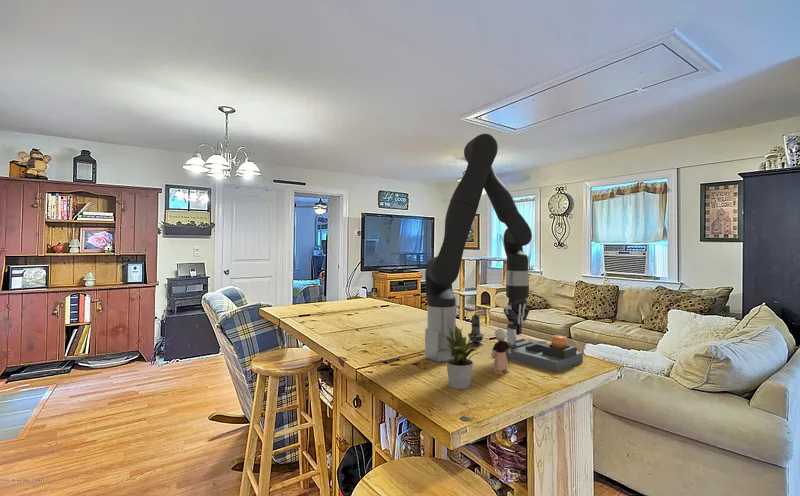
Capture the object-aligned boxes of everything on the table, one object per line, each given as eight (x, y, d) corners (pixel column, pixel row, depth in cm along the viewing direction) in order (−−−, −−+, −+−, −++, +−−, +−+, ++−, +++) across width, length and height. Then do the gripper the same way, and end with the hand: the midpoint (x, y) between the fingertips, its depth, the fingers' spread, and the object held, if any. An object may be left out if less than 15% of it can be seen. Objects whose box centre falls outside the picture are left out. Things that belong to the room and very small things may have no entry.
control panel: (556, 372, 108) (556, 353, 108) (494, 355, 126) (494, 338, 126) (583, 361, 118) (583, 344, 118) (521, 347, 136) (521, 332, 136)
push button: (562, 349, 113) (562, 339, 113) (548, 346, 117) (548, 336, 117) (569, 347, 116) (569, 337, 116) (556, 344, 119) (556, 334, 119)
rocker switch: (538, 343, 119) (538, 340, 119) (527, 341, 122) (528, 338, 122) (546, 344, 122) (546, 341, 122) (536, 342, 125) (536, 339, 125)
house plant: (418, 380, 102) (418, 320, 102) (458, 372, 109) (458, 316, 109) (450, 398, 90) (450, 330, 89) (493, 388, 96) (493, 324, 96)
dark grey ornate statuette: (482, 342, 142) (482, 311, 142) (484, 346, 136) (484, 313, 136) (467, 342, 143) (467, 310, 143) (468, 346, 137) (468, 313, 137)
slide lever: (514, 347, 124) (514, 325, 124) (506, 345, 126) (506, 323, 126) (518, 346, 125) (518, 324, 125) (509, 344, 127) (509, 322, 127)
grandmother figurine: (501, 368, 112) (501, 326, 112) (513, 371, 110) (513, 328, 109) (487, 374, 107) (487, 330, 107) (499, 377, 104) (499, 332, 104)
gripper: (519, 281, 135) (519, 329, 135) (496, 284, 127) (496, 335, 127) (538, 283, 129) (538, 333, 129) (515, 285, 121) (515, 339, 121)
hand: (517, 334), depth 128 cm, fingers closed
